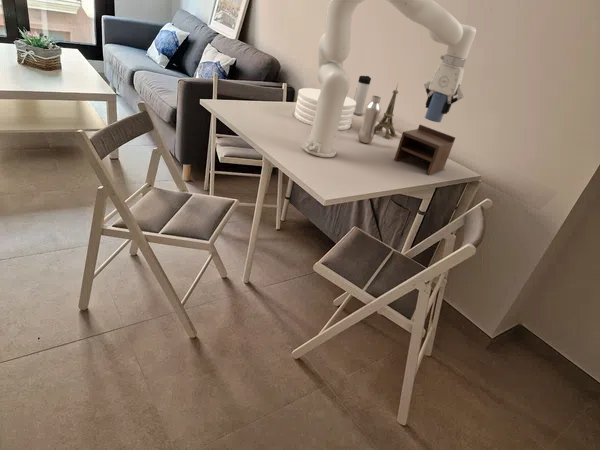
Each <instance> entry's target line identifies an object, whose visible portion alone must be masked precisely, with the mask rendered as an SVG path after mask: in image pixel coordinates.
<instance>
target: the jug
mask: <svg viewBox="0 0 600 450" xmlns="http://www.w3.org/2000/svg"><path fill="white" fill-rule="evenodd" d="M447 102H448V96H447V95H444V94H441V93H438V92H433V95H432V98H431V101H430V104H429V107H428V108H426V109H427V110H426V113H425V115H424V118H425V120H428V121H430V122H434V123H441V122H442V121H443V118H444V115H445V114H443V113H442V112H443V109H444V107H445V104H446V103H447Z"/></svg>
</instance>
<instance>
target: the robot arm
mask: <svg viewBox="0 0 600 450" xmlns="http://www.w3.org/2000/svg"><path fill="white" fill-rule="evenodd" d="M364 1H365V0H329V1H328V3H327V7H326V13H325V27H324V33H323V34H322V35H321V36H320V38H319V41H318V45H317V46H318V47H317V79H318V82H319V83H320V85H321V88H320V89H321V92H320V95H319V98H318V102H317V106H316V111H315V116H314V121H313V125H311V129H310V130H311V131H310V136H309V138H308V140H307V142H304V143H302V144H301V149H303V150H304V151H305V152H306V153H308V154H311V155H312V156H316V157H320V158H333V157H335V156H336V153H337V152H336V149H334V145H335V141H336V138H337V133H338V130H337V129H338V125H339V121H340V117H341V112H342V108H343V105H344V101H345V98H346V96H347V97H348V93H349V90H350V86H351V78H350V75H349V73H348V72H347V70H346V69H345V68H344V61H345V60H346V59H347V58H348V57H349V54H350V49H351V30H352V29H351V27H352V20H353V19H352V18H353V15H354V11H355V10H356V8H357V7H358V6H359V4H361V3H363V2H364ZM386 1H387V2H388V3H390V4H391V5H392V6H393V7H395V9H397V10H398V11H399V12H400V13H401V14H402V15H403V16H404V17H405V18H407V19H409V20H410V21H412V22H414V23H417V24H419V25H421V26H423V27H424V28H426V29H427V30H428V33H429V37H430V39H431V40H433V41H434V42H436V43H439V44H442V45H445V46H447V48H446V52H445V54H444V55H443V54H441V56H440V60H442V62H439V64H438V65H437V67H436V69H435V72H434V74H433V75H432V78H431V80H429V81H427V82H425V83H424V84H423V86H424V89H425V92H426V95H427V99H426V101H425V108H426V109H428V107H429V104H430V101H431V98H432V95H433V92H438V93H441V94H444V95H447V96H448V102H447V103H446V104H445V107H444V109H443V112H442V113H443V114H444V115H447V114H448V113H449V112H450V110H451V107H452V105H453V104H455V103H456V102H458V101H459V100H461V99H463V98H464V94H463V92H462V89H461V85H462V81H463V78H464V73H465V68H464V66H465V64H466V61H467V58H468V56H469V54H470V51H471V48H472V45H473V43H474V39H475V38H476V34H477V28H476V27H474V26H471V25H467V24H463V23H461V22H460V21H459V20H458V19H456V17H454V16H453V15H452V14H451V13H450V12H449V11H448V10H446V9H445V8H444V7H443V6H441V5H440V4H439V3H437V2H436V1H434V0H386Z"/></svg>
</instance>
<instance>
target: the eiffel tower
mask: <svg viewBox="0 0 600 450" xmlns="http://www.w3.org/2000/svg"><path fill="white" fill-rule="evenodd" d="M398 86H399V84H397V85H396V88H395V89H393V91H392V96H391V98H390V101H389V104H388V106H387V108H386V111H385V112H383V117H382V119H381V120H380V121H379V122H378V123H377V124H375V129H374V135H375V134H377V132H383V131H384V130H383V128H384V129H385V131H384V132H385V133H384V135H383V138H384V139H386V140H390V139H391V136H392V137H397V136H398V135H397V134H396V131H395V128H394V123H393V117H394V116H395V113H394V110H395V105H396V104H395V102H396V98H397V94H399V90H398Z"/></svg>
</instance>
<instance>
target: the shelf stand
mask: <svg viewBox="0 0 600 450" xmlns="http://www.w3.org/2000/svg"><path fill="white" fill-rule="evenodd" d="M455 140H456V137H455V136H453V135H450V134H448V133H445V132H442V131H439V130H436V129H433V128H432V127H428V126H425V125H423V124H419V125H418V127H417V128H415V129H409V130H406V131H402V134H401V137H400V140H399V143H398V146H397V150H396V153H395V156H394V158H393V160H394V161H396V162H397V161H401V160H404V159H407V158H410V157H411V158H412V159H413V158H414V159H416V160H418V161H421V162H423V163H425V164H428V165H429V167H428V169H427V172H426V175H427V176H430V175H433V174H435V173H438V172H440V171H443V170H444V169H445V166H446V164H447V161H448V158H449V156H450V153H451V150H452V148H453V146H454V143H455Z"/></svg>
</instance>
